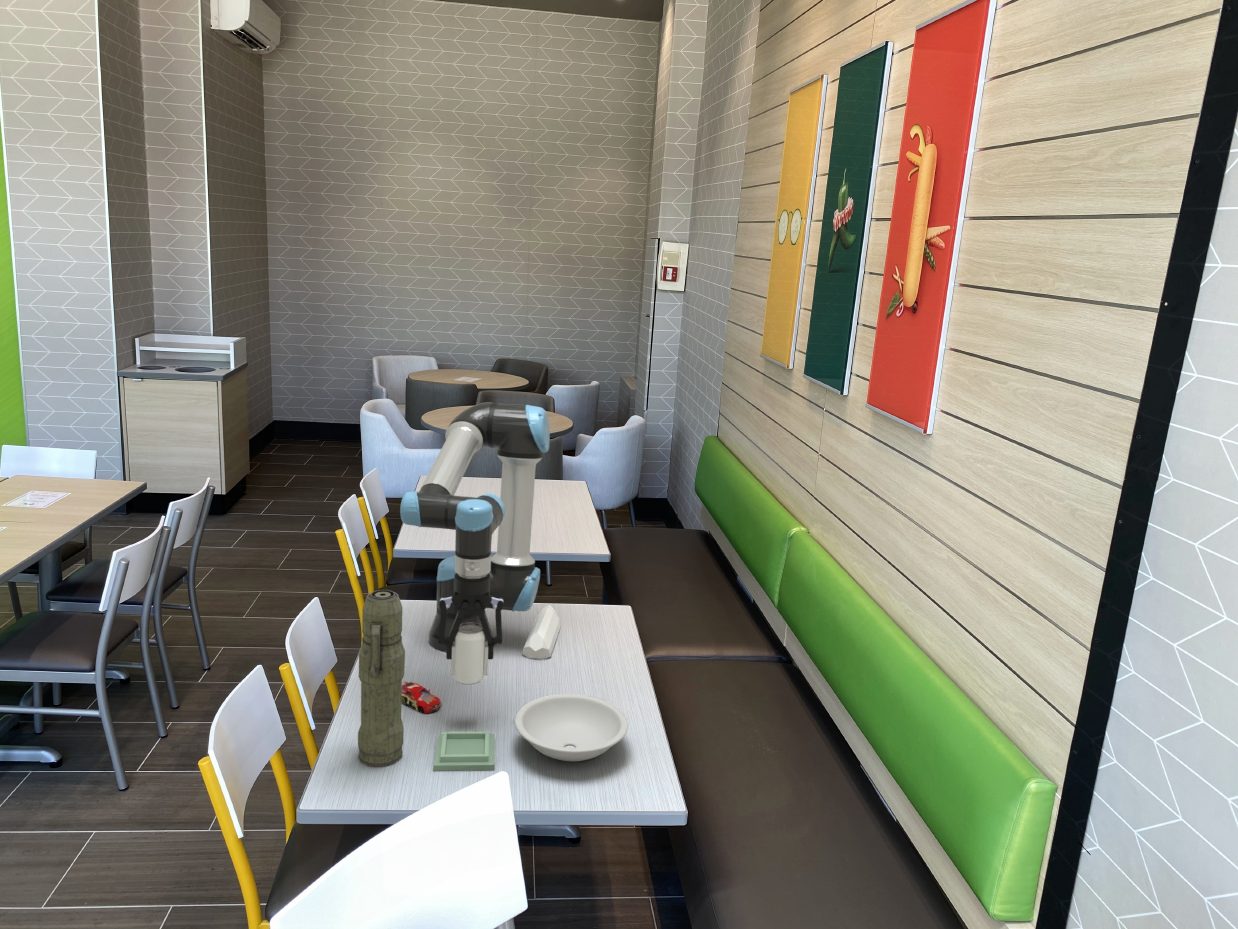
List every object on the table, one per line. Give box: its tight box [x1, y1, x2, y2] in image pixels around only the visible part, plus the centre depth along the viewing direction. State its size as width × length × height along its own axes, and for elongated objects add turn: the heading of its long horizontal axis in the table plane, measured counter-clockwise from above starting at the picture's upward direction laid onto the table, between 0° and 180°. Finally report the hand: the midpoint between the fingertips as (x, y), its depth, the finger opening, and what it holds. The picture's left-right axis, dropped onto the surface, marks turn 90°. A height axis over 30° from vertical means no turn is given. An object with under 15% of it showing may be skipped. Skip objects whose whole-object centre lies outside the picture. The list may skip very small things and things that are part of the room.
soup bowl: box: [514, 693, 629, 762], centre depth 185 cm, size 24×24×7 cm
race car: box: [401, 681, 441, 715], centre depth 200 cm, size 13×5×4 cm, turn 54°
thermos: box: [357, 589, 406, 768], centre depth 174 cm, size 9×12×35 cm
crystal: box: [522, 604, 561, 660], centre depth 237 cm, size 7×7×24 cm
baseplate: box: [433, 731, 496, 772], centre depth 180 cm, size 12×12×2 cm
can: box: [453, 622, 485, 686], centre depth 189 cm, size 6×6×12 cm
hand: (469, 672), depth 190 cm, fingers closed on can, 6 cm apart
